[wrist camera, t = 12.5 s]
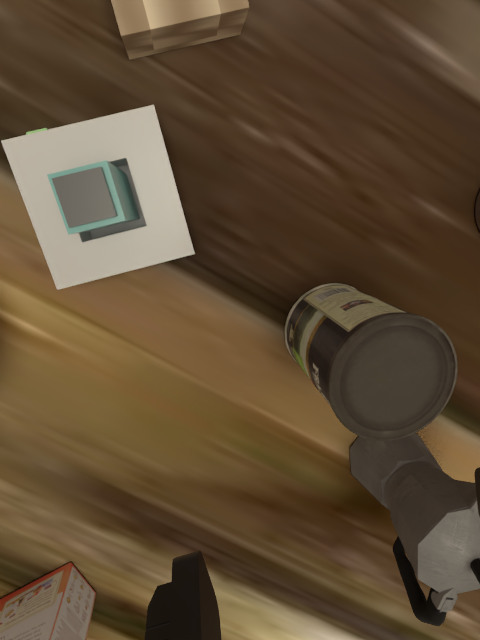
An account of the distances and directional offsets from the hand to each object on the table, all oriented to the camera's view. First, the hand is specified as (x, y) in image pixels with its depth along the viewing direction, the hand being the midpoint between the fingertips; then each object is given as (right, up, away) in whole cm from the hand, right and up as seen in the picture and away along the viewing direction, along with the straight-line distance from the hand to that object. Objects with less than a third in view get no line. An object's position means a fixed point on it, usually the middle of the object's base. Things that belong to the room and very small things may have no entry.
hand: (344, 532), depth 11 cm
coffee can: (+7, +5, +33) cm, 34 cm away
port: (-15, +17, +27) cm, 35 cm away
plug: (-15, +17, +26) cm, 34 cm away
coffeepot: (+14, -11, +38) cm, 42 cm away
